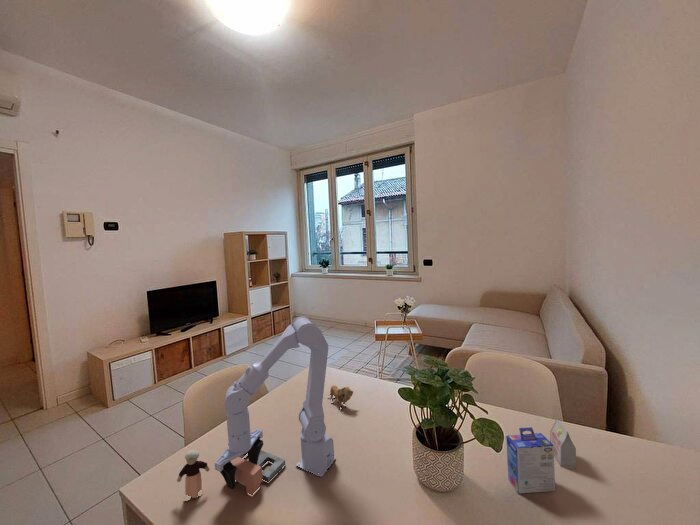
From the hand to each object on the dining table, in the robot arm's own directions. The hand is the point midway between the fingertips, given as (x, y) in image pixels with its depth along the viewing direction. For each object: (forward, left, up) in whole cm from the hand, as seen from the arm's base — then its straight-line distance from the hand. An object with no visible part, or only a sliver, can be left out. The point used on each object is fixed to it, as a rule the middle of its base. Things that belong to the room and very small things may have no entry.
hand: (242, 476), depth 79 cm
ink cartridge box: (-70, -34, -3) cm, 78 cm away
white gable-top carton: (-79, -48, -3) cm, 92 cm away
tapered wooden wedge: (0, 0, -3) cm, 3 cm away
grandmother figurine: (+10, +8, -3) cm, 13 cm away
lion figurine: (-5, -46, -3) cm, 46 cm away
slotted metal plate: (+2, -7, -3) cm, 8 cm away
